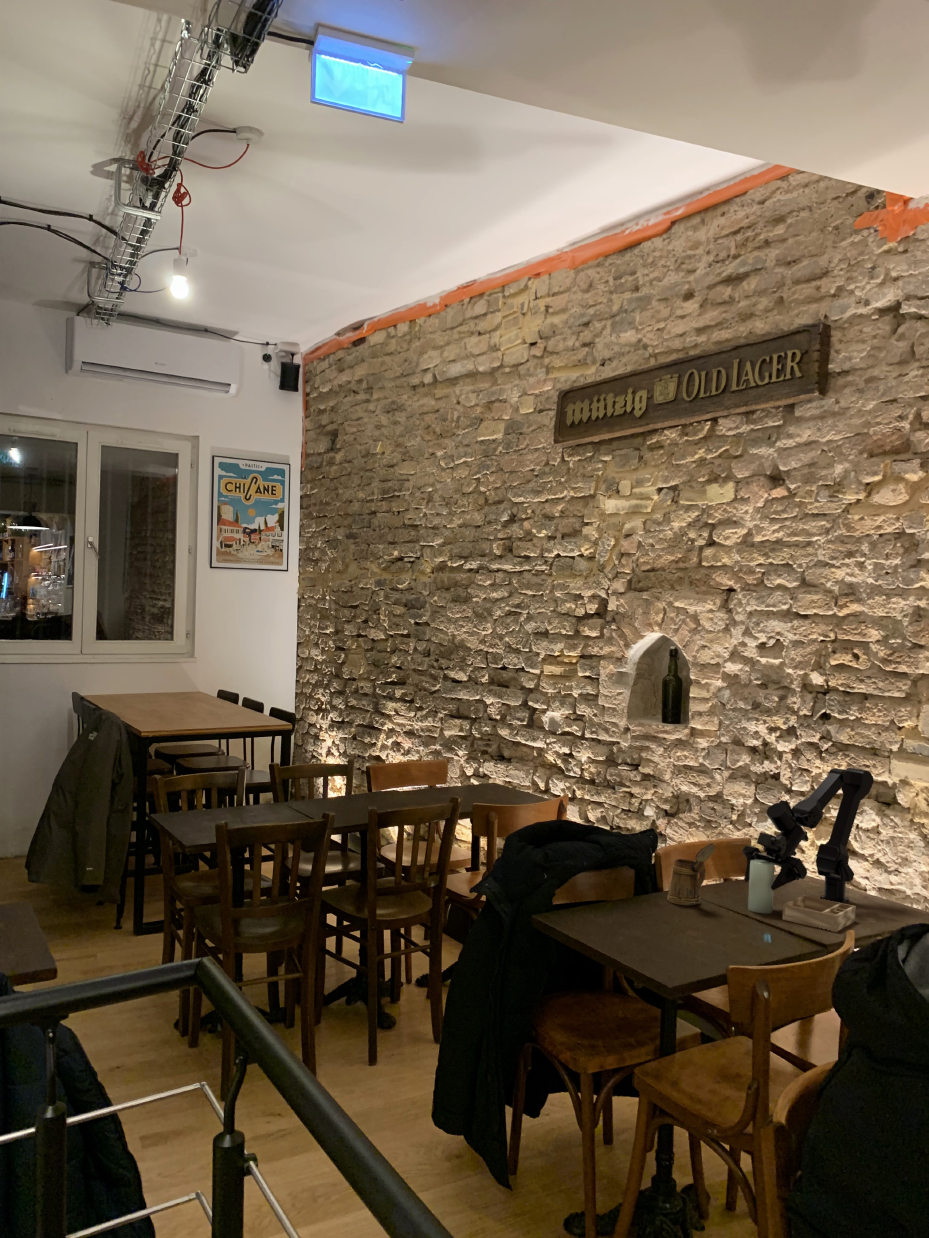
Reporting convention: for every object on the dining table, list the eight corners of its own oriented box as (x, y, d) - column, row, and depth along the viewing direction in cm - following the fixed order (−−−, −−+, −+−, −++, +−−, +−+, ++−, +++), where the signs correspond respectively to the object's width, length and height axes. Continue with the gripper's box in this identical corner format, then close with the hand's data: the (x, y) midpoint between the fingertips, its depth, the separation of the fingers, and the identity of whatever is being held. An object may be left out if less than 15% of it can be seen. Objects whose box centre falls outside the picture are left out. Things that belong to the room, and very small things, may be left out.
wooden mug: (698, 911, 257) (702, 844, 257) (660, 899, 268) (663, 834, 268) (719, 907, 262) (723, 841, 263) (681, 895, 273) (684, 832, 273)
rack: (803, 909, 265) (803, 895, 265) (855, 921, 256) (855, 906, 256) (782, 919, 254) (783, 904, 254) (836, 931, 245) (836, 916, 245)
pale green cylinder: (753, 905, 267) (755, 858, 267) (776, 910, 263) (778, 862, 263) (744, 909, 262) (746, 861, 262) (766, 914, 258) (769, 866, 258)
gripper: (748, 816, 273) (718, 857, 267) (802, 829, 257) (772, 873, 251) (765, 842, 277) (737, 884, 271) (820, 856, 261) (791, 900, 255)
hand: (758, 884), depth 262 cm, fingers open, 9 cm apart
